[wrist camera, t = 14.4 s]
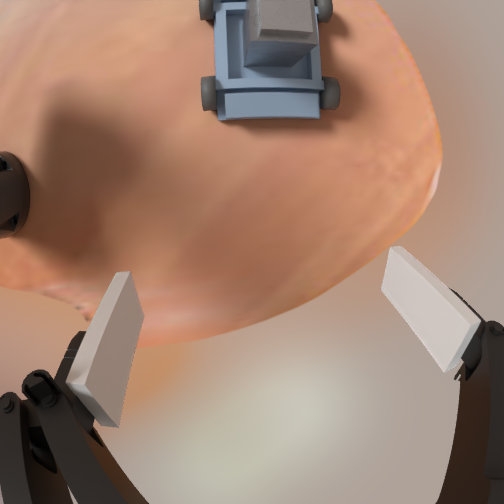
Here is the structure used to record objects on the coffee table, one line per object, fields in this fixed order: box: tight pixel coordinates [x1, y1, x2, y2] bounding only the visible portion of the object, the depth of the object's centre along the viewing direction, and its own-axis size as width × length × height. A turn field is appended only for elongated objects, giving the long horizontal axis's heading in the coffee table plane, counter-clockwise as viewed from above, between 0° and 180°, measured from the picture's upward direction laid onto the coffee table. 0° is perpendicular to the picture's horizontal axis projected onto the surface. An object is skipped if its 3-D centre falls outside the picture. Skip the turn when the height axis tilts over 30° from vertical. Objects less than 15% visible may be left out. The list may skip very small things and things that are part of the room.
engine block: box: [242, 0, 318, 67], centre depth 21 cm, size 6×6×12 cm
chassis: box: [199, 0, 340, 121], centre depth 26 cm, size 16×20×4 cm
